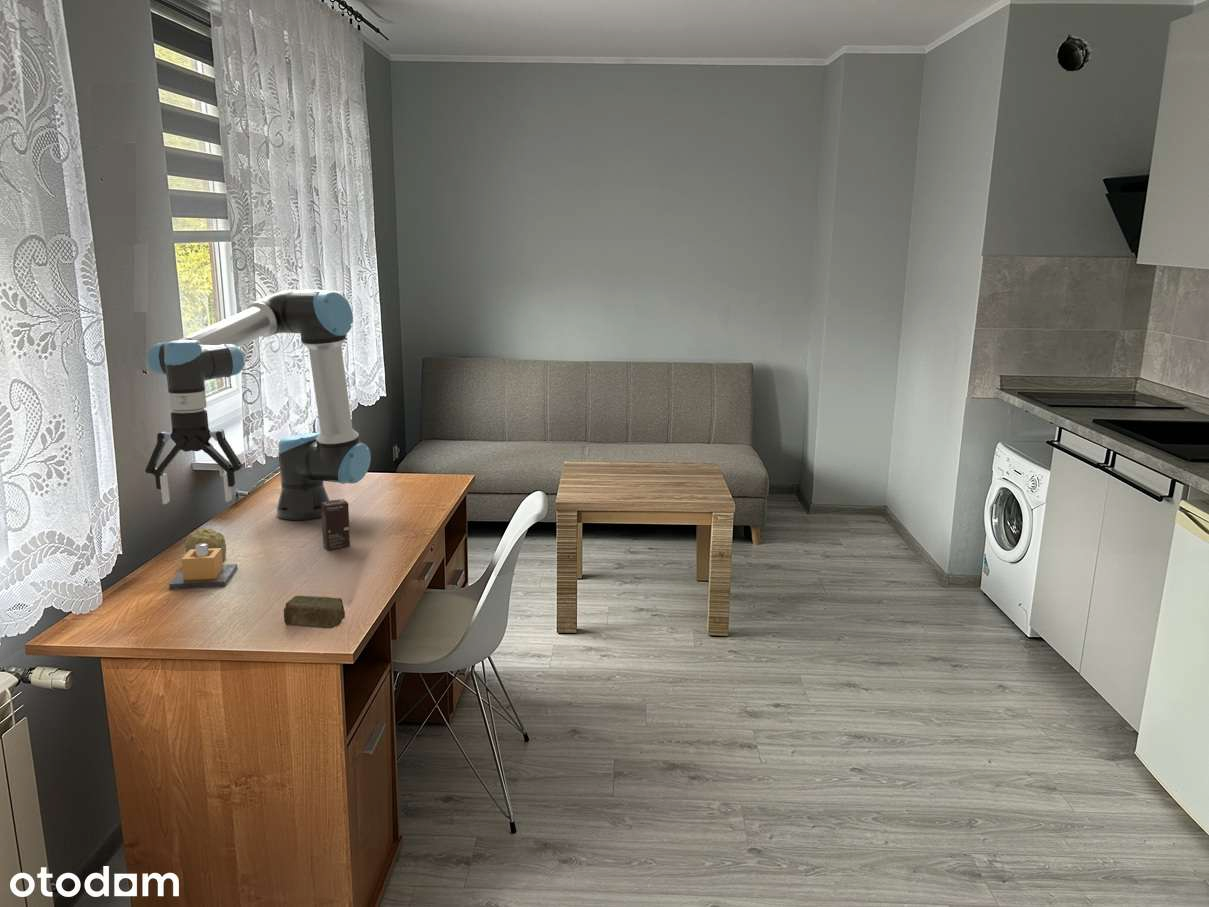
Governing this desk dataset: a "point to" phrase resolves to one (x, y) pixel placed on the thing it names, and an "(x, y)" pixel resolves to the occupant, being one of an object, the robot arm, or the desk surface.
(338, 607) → the stone block
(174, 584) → the keeper
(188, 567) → the tan square-hole block
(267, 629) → the desk surface
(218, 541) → the decorative item
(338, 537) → the box
